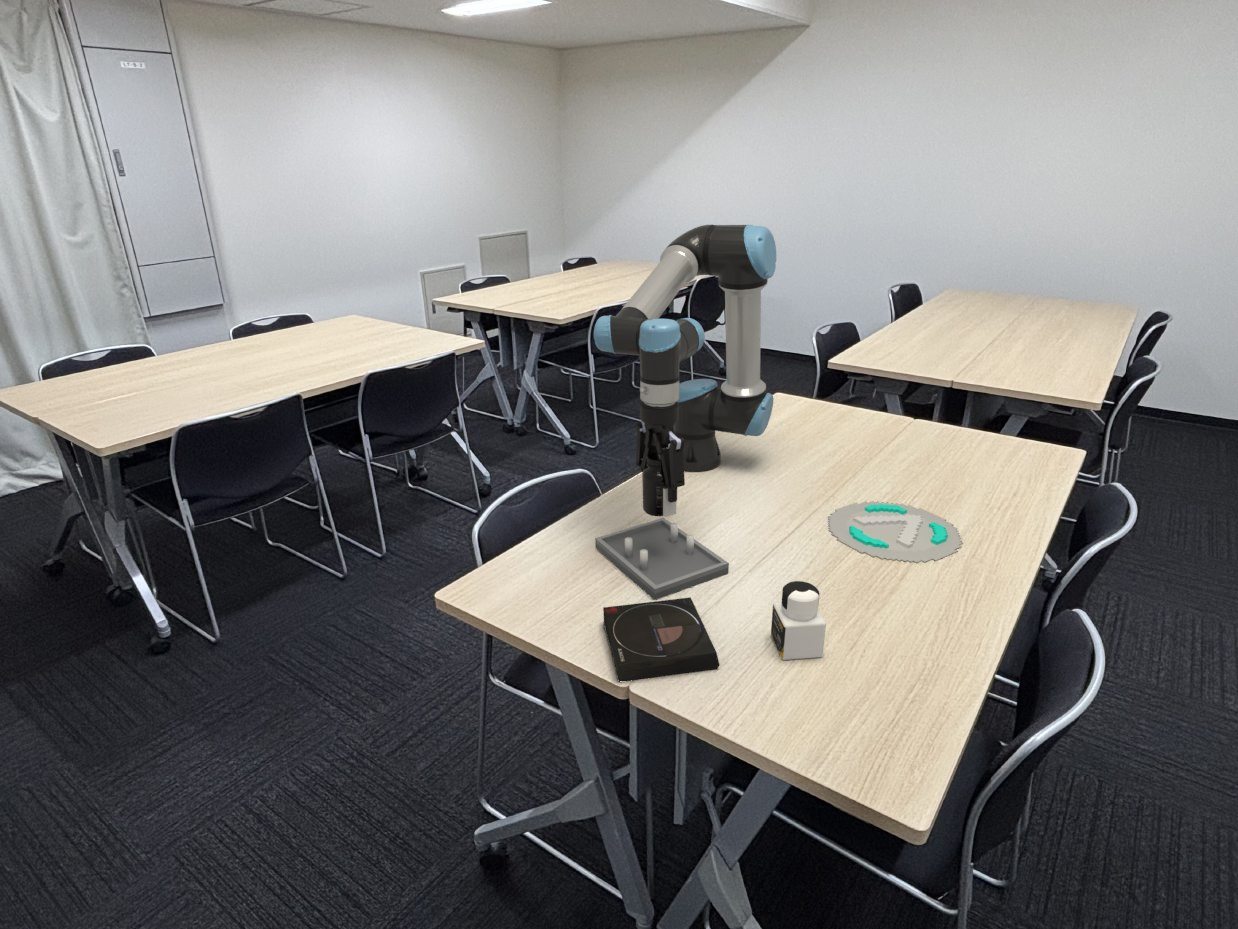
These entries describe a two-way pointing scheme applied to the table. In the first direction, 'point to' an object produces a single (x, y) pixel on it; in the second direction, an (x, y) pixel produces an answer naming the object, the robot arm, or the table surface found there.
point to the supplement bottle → (653, 485)
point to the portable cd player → (658, 639)
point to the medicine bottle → (798, 622)
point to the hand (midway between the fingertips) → (659, 507)
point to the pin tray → (661, 557)
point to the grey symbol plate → (894, 532)
